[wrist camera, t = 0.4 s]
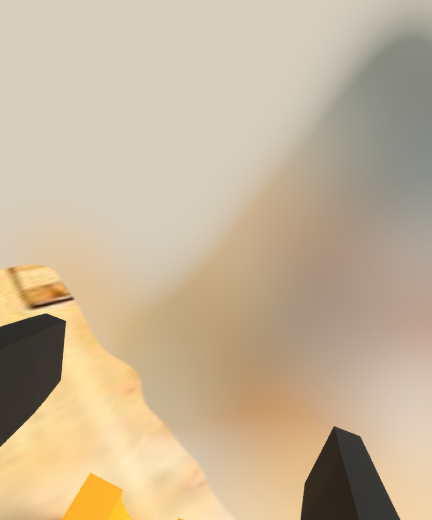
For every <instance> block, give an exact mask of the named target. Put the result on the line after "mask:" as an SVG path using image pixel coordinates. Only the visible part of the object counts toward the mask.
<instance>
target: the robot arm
mask: <svg viewBox="0 0 432 520" xmlns="http://www.w3.org/2000/svg"><path fill="white" fill-rule="evenodd" d="M65 326H66V321H64V320H62V319H59V318H57V317H54V316H52V315H49V314H47V313H46V314H42V315H38V316H34V317H31V318H27V319H24V320H21V321H17V322H14V323H11V324H8V325H4V326H1V327H0V447H1V446H2V445H3V444H4V443H5V442H6V441H7V440H8V439H9V438H10V437H11V436H12V435H13V434H14V433H15V432H16V431H17V430H18V429H19V428H20V427H21V426H22V425H23V424H24V423H25V422H26V421H27V420H28V419H29V418H30V417H31V416H32V415H33V414H34V413H35V412H36V410H37V409H38V408H39V407H40V406H41V404H42V403H43V402H44V401H45V400H46V398H47V397H48V396H49V395H50V393H51V392H52V391H53V389H54V388H55V387H56V386H57V384H58V383H59V382H60V380H61V372H62V360H63V349H64V338H65ZM301 520H400V518H399V516H398V515H397V512H396V510H395V508H394V506H393V504H392V502H391V500H390V498H389V496H388V494H387V492H386V490H385V487H384V486H383V483H382V481H381V479H380V477H379V475H378V473H377V471H376V469H375V466H374V464H373V462H372V460H371V458H370V456H369V454H368V452H367V450H366V447H365V446H364V443H363V441H362V439H361V437H360V436H358V435H355V434H353V433H350V432H348V431H345V430H342V429H340V428H337V427H333V429H332V431H331V433H330V435H329V437H328V439H327V441H326V443H325V445H324V447H323V449H322V451H321V453H320V455H319V457H318V459H317V461H316V463H315V464H314V466H313V468H312V470H311V472H310V474H309V476H308V478H307V480H306V482H305V486H304V495H303V503H302V512H301Z"/></svg>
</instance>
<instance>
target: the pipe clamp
mask: <svg viewBox="0 0 432 520" xmlns="http://www.w3.org/2000/svg"><path fill="white" fill-rule="evenodd" d="M122 491H123V490H122V489H120V488H118V487H116V486H114V485H113V484H111V483H109V482H107V481H105V480H103V479H101V478H99V477H97V476H96V475H94V474H92V473H90V474H89V476H88V478H87V479H86V481H85V483H84V484H83V486H82V487H81V489H80V491H79V492H78V494H77V496H76V497H75V499H74V500H73V502H72V504H71V505H70V507H69V509H68V510H67V512H66V513H65V515H64V517H63V518H62V520H132V519H131V518H130V517H129V515H128V514H127V512H126V510H125V508H124V505H123V502H122ZM178 520H182V519H180V518H179V519H178Z"/></svg>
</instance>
